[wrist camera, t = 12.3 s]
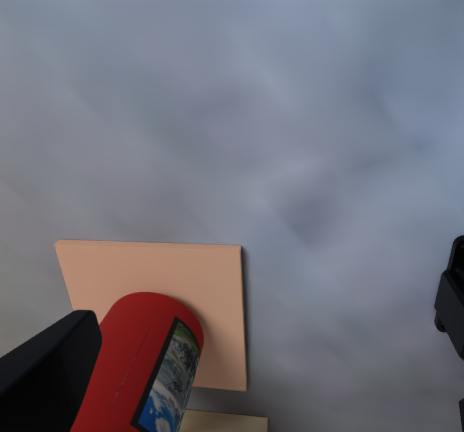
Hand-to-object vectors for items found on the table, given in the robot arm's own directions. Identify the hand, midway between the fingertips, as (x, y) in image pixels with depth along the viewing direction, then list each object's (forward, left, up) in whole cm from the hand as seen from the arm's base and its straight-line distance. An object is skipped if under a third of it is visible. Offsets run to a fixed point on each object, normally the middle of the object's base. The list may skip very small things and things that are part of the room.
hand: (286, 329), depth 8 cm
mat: (+9, +12, -13) cm, 20 cm away
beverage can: (+9, +12, -13) cm, 19 cm away
